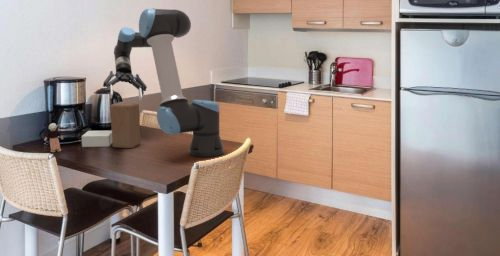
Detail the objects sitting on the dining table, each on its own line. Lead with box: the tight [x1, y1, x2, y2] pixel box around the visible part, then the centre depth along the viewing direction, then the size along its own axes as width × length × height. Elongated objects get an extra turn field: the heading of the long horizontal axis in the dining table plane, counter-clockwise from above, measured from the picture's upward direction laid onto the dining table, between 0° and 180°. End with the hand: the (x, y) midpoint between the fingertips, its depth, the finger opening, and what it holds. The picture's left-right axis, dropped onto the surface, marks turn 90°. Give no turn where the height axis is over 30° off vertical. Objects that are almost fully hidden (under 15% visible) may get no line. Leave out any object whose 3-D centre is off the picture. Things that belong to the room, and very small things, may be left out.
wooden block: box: [109, 101, 142, 149], centre depth 207 cm, size 10×10×20 cm
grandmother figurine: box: [43, 122, 64, 153], centre depth 197 cm, size 8×4×13 cm, turn 135°
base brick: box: [81, 129, 113, 148], centre depth 212 cm, size 12×12×5 cm
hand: (126, 97), depth 210 cm, fingers open, 13 cm apart
